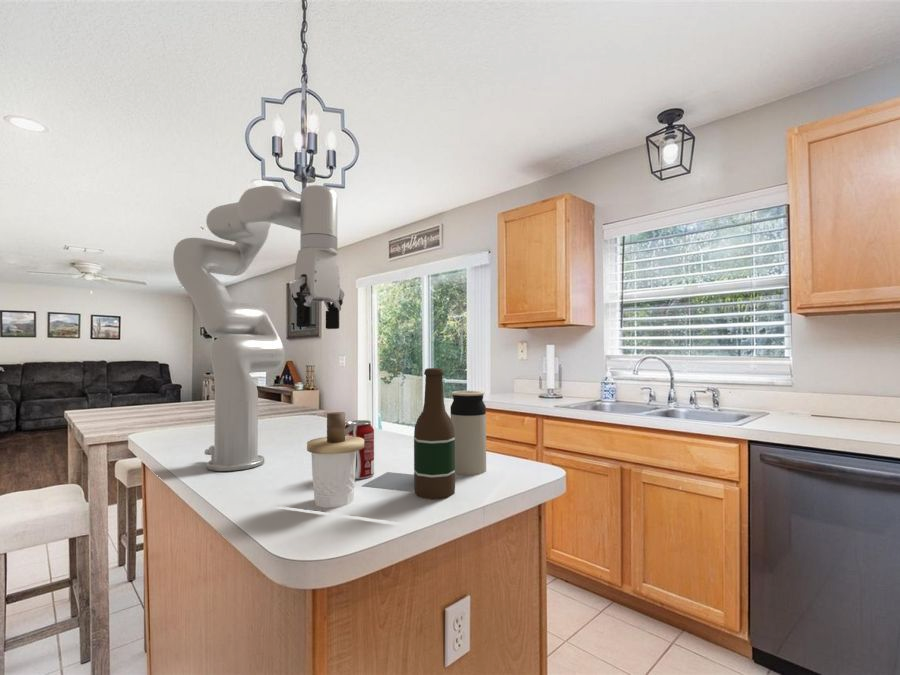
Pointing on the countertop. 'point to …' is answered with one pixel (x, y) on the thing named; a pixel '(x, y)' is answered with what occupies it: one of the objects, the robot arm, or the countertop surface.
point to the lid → (335, 438)
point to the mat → (393, 482)
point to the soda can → (367, 453)
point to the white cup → (333, 479)
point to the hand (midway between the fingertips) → (318, 327)
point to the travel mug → (469, 432)
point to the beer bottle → (434, 443)
